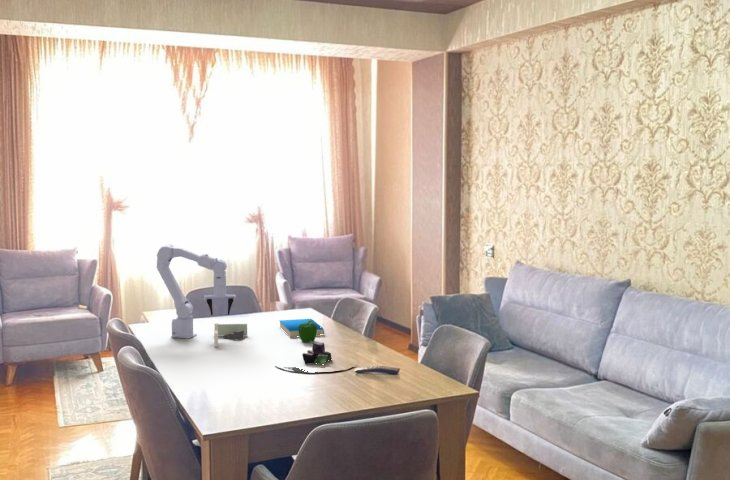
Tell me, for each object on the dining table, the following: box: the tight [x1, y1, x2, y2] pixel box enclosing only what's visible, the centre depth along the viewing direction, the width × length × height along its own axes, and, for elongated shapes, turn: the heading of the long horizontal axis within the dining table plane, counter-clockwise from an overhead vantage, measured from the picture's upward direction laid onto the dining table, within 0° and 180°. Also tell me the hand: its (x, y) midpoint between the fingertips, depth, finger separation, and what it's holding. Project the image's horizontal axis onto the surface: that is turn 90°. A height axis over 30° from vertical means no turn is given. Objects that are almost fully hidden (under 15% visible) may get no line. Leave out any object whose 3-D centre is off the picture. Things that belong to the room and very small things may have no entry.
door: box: [218, 323, 248, 337], centre depth 353 cm, size 14×2×6 cm, turn 96°
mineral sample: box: [274, 342, 333, 374], centre depth 304 cm, size 35×35×9 cm
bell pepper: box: [299, 319, 317, 343], centre depth 342 cm, size 8×8×10 cm
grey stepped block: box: [223, 330, 245, 341], centre depth 349 cm, size 8×4×4 cm, turn 64°
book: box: [278, 318, 325, 338], centre depth 365 cm, size 17×4×25 cm
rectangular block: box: [213, 320, 219, 348], centre depth 345 cm, size 28×2×6 cm, turn 11°
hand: (220, 314), depth 351 cm, fingers open, 7 cm apart
